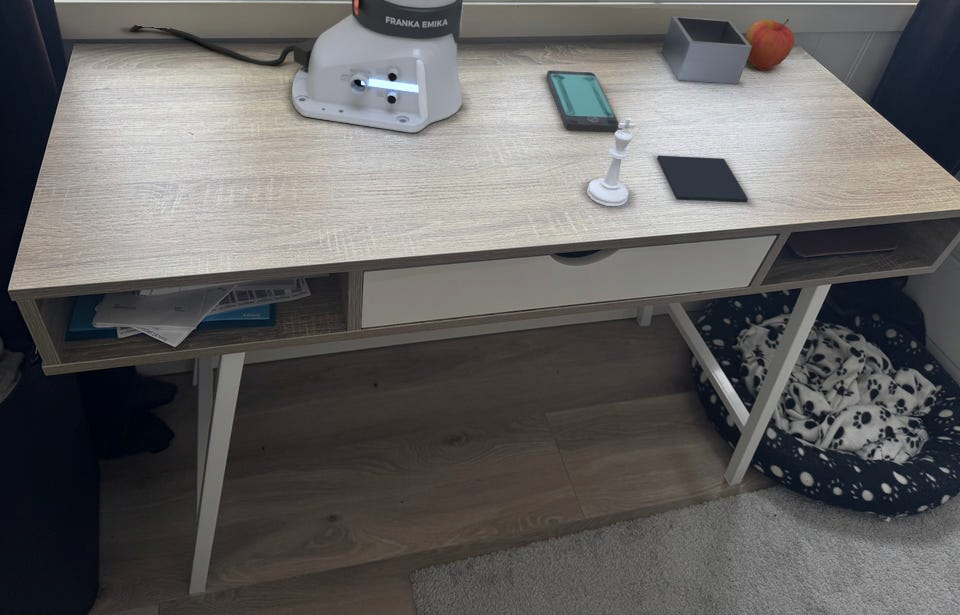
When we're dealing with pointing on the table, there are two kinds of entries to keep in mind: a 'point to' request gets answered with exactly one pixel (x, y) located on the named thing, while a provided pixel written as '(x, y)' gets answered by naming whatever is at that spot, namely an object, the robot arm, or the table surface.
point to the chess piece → (613, 172)
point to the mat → (701, 179)
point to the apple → (769, 43)
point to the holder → (705, 50)
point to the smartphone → (581, 101)
